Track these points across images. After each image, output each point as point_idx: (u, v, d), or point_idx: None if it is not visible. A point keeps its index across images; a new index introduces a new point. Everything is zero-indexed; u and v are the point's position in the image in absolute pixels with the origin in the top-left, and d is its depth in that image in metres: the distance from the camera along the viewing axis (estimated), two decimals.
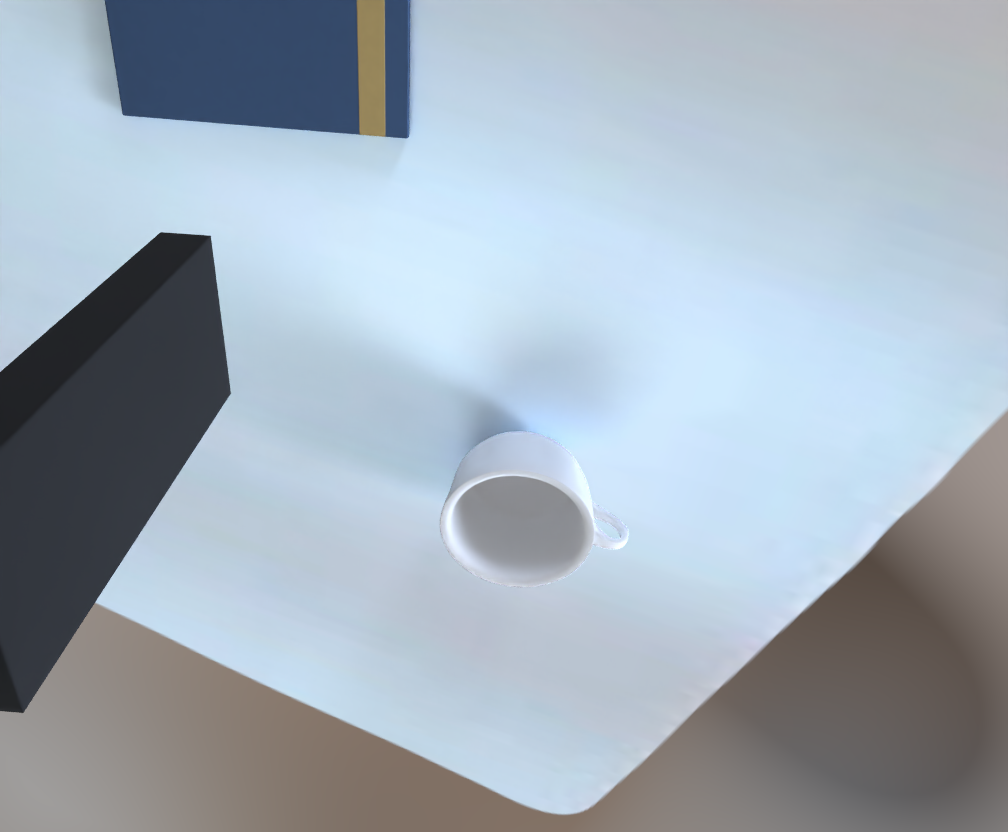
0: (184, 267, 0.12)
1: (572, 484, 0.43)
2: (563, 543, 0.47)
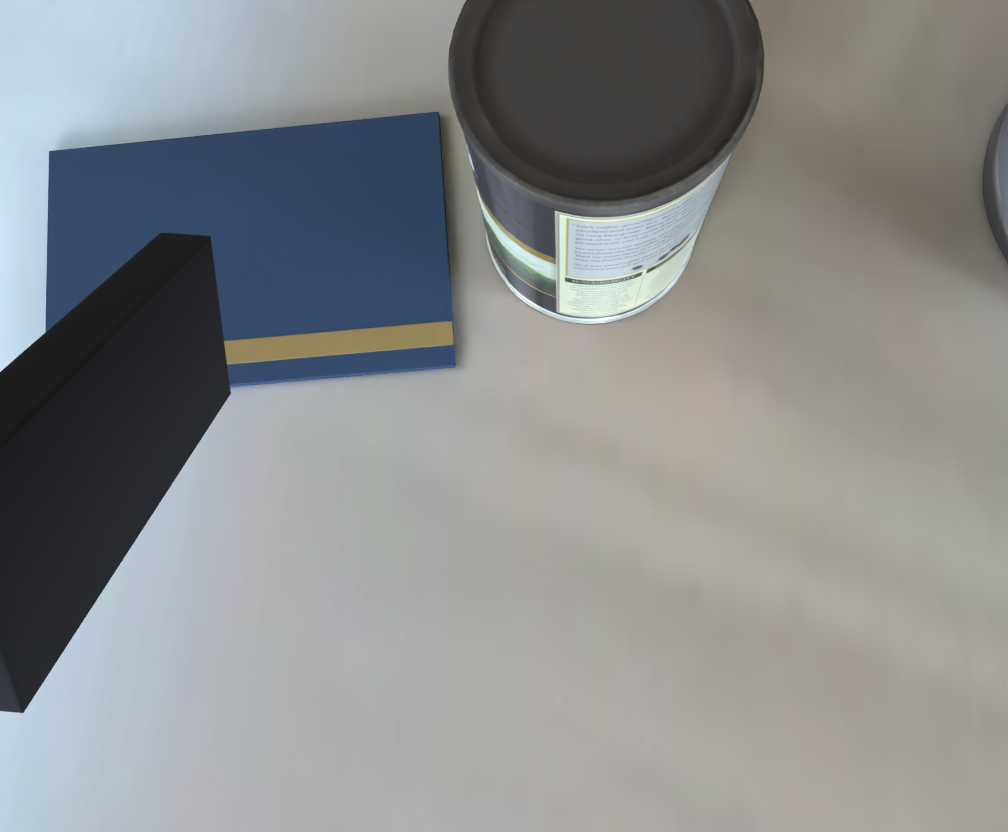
0: (184, 267, 0.12)
1: None
2: None
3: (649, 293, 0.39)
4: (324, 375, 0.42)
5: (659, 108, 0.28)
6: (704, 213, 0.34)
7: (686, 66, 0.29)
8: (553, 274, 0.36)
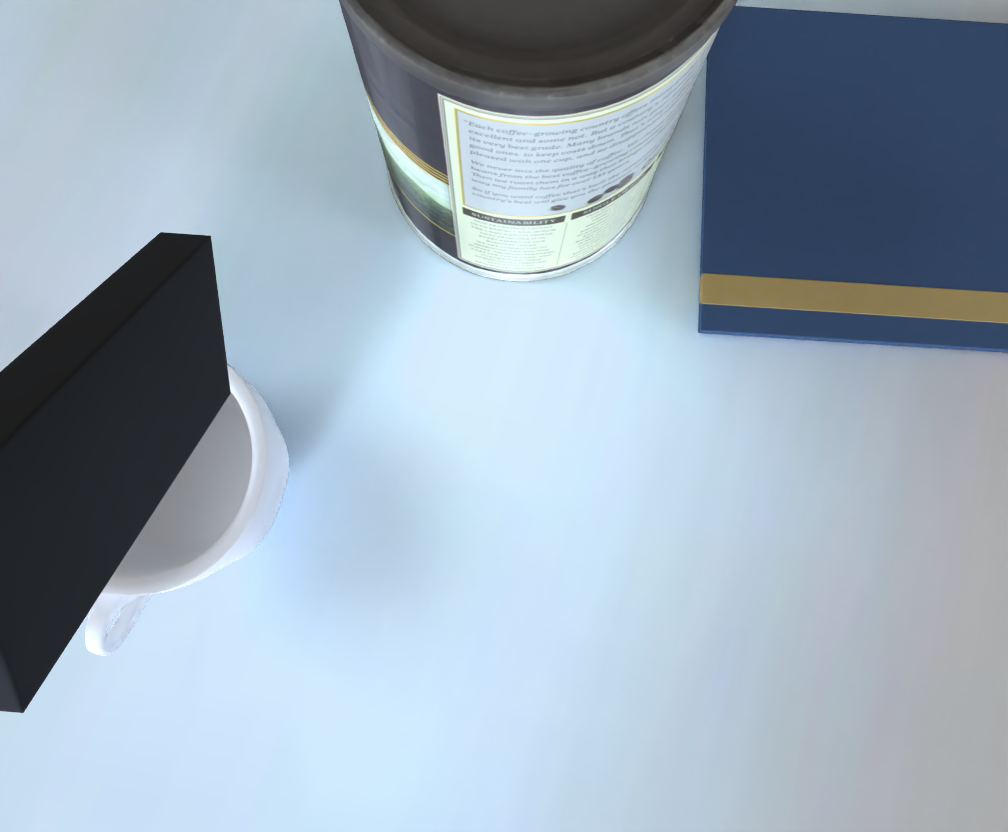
0: (184, 267, 0.12)
1: (233, 553, 0.26)
2: None
3: (576, 251, 0.31)
4: None
5: None
6: (657, 149, 0.26)
7: None
8: (447, 201, 0.27)
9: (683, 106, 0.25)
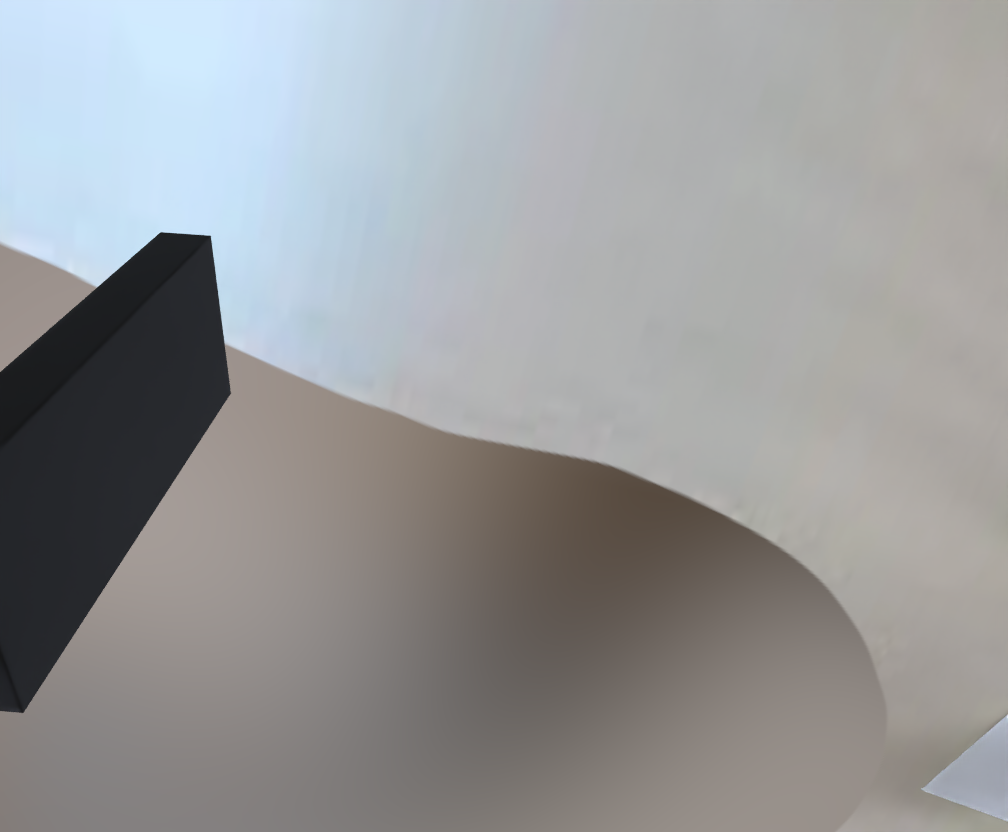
0: (184, 267, 0.12)
1: None
2: None
3: None
4: None
5: None
6: None
7: None
8: None
9: None
